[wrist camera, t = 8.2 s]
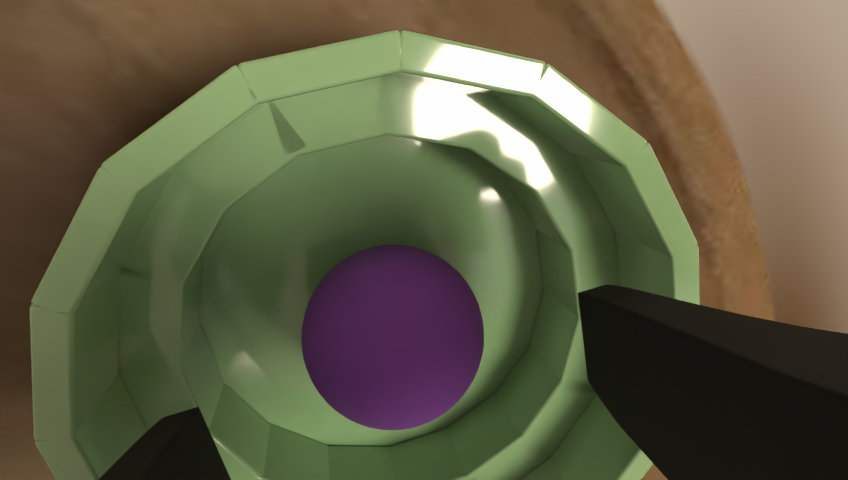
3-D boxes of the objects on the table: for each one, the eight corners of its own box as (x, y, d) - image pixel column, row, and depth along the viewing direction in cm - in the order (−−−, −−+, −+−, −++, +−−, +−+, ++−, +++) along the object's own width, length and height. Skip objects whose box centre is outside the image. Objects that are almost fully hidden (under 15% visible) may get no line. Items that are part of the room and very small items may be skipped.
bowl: (604, 408, 16) (706, 521, 12) (229, 534, 15) (194, 715, 10) (562, 7, 12) (693, -35, 8) (37, 121, 11) (-147, 145, 6)
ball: (467, 341, 14) (526, 435, 10) (327, 385, 13) (334, 501, 9) (439, 206, 12) (495, 256, 9) (281, 248, 12) (269, 321, 8)
